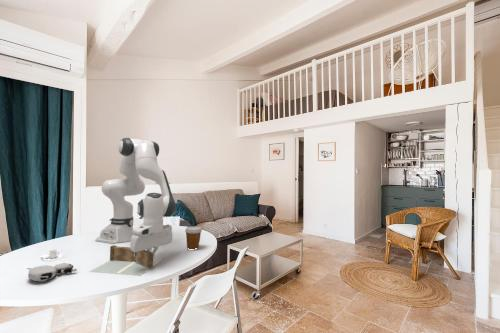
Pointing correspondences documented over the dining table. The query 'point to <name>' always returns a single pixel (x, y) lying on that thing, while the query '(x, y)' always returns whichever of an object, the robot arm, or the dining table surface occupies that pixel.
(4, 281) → the dining table surface
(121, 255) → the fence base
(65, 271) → the robot toy
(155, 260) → the card
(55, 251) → the teacup and saucer
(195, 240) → the disposable coffee cup
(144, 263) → the hinged fence panel
